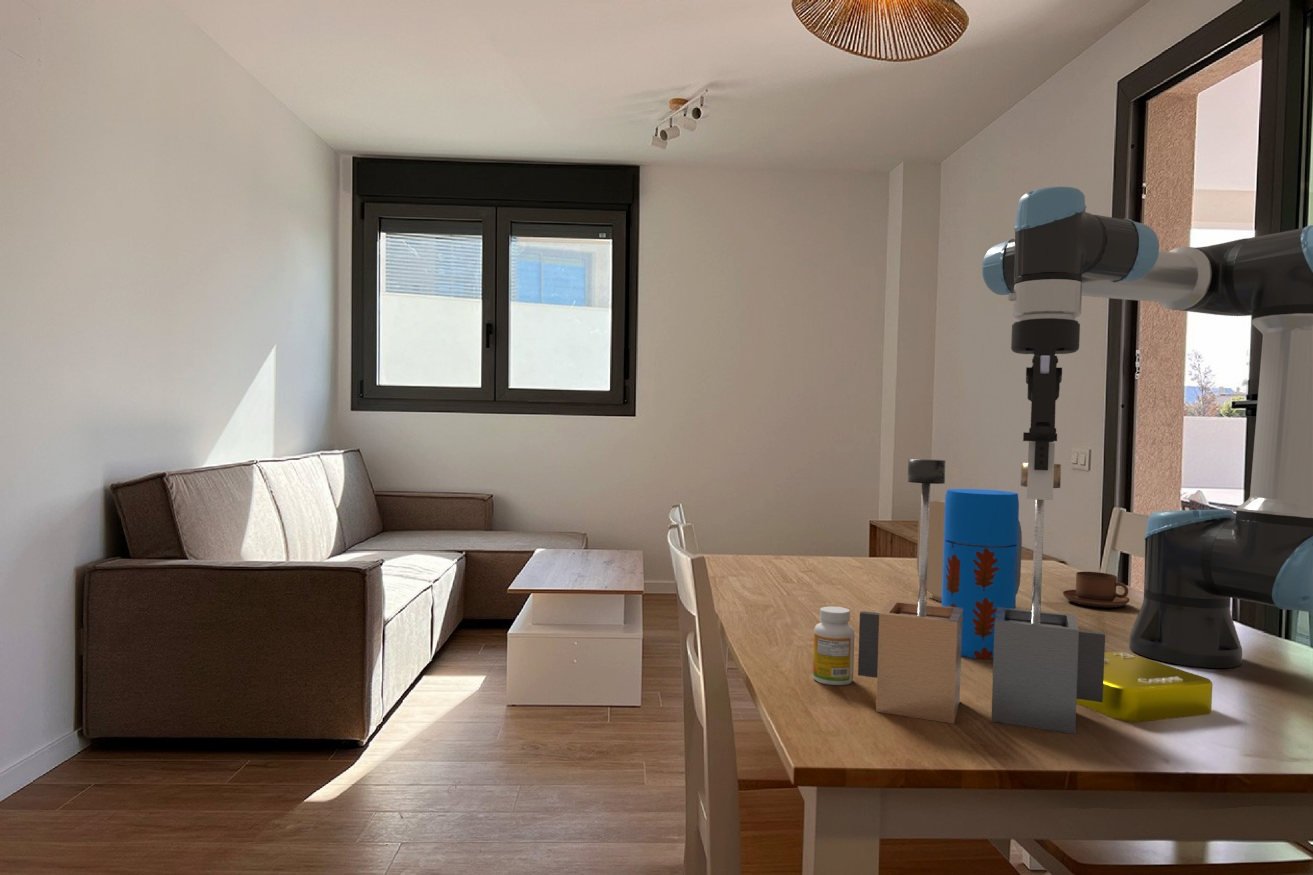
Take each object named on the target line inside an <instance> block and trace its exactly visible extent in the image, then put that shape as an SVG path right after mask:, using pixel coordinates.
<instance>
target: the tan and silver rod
mask: <svg viewBox="0 0 1313 875" xmlns="http://www.w3.org/2000/svg"><path fill="white" fill-rule="evenodd" d="M1020 465H1021V466H1020V487H1024V488H1027V478H1028V462H1021V464H1020ZM1061 476H1062V464H1061V463H1054V480H1053V489H1061V480H1062V479H1061V478H1062V477H1061ZM1034 500H1035V502H1034V531H1033V532H1034V533H1033V556H1032V557H1033V558H1032V560H1033V561H1032V562H1033V564H1032V582H1031V583H1032V584H1031V585H1032V588H1031V589H1032V590H1031V592H1032V593H1031V610H1032V612H1031V622H1024V621H1015V620H1009V621H1015V622H1024V623H1033V624H1042V625H1052V624H1043V623H1040V612H1041V611H1042V610H1041V609H1042V608H1041V606H1042V579H1043V577H1042V575H1043V556H1044V555H1043V554H1044V553H1043V551H1044V550H1043V549H1044V548H1043V547H1044V526H1045V525H1044V523H1045V522H1044V521H1045V500H1040V499H1034ZM1052 626H1061V627H1062V625H1052Z"/></svg>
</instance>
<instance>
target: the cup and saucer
mask: <svg viewBox="0 0 1313 875" xmlns="http://www.w3.org/2000/svg"><path fill="white" fill-rule="evenodd" d="M1075 574H1076V575H1075V577H1076V579H1075V589H1068V590H1064V591H1063V592H1062V595H1063V596H1064V598H1066V600H1068V601H1070V602H1072V603H1075V604H1078V605H1082V606H1086V607H1092V608H1093V607H1094V608H1103V609H1104V608H1106V609H1107V608H1108V609H1109V608H1120V607H1123V606H1126V605H1127V604H1128V603H1129V602H1130V598H1129V597H1128V595H1129V588H1128V587H1127V585H1126V584H1125V583H1123V582H1118V580H1117V579H1118V577H1117V575H1115V574H1112V573H1105V572H1098V571H1077V572H1076V573H1075ZM1117 587H1122V588H1123V590H1124V593H1121V594H1119V593H1117Z"/></svg>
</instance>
